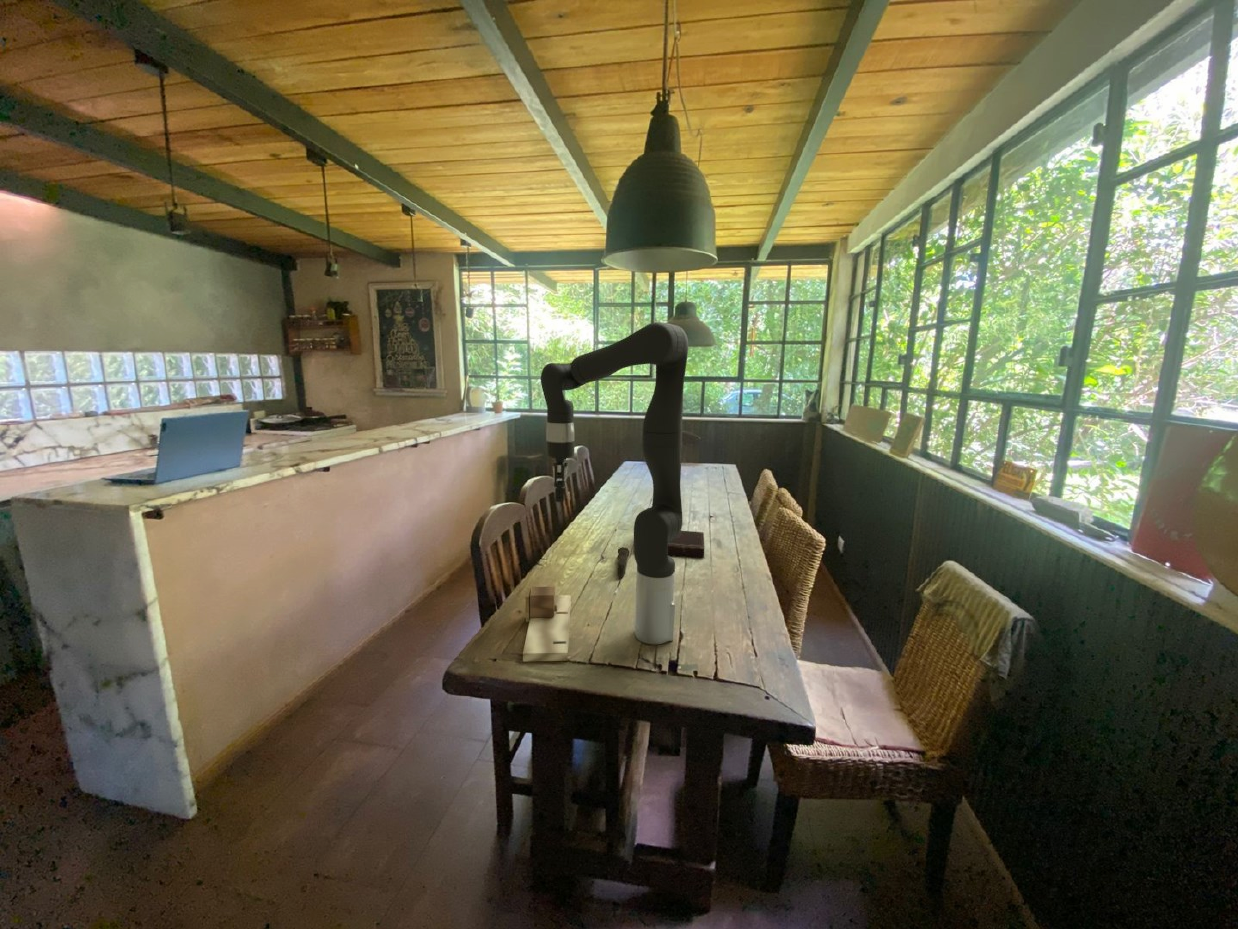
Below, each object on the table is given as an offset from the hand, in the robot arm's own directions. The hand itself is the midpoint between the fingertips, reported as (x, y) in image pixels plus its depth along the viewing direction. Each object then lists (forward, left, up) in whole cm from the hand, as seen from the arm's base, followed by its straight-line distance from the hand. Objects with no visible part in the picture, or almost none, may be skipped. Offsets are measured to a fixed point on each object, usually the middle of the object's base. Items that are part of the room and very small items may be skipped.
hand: (560, 497), depth 131 cm
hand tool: (-20, -22, -31) cm, 43 cm away
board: (+2, +16, -30) cm, 34 cm away
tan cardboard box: (+4, +12, -29) cm, 32 cm away
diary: (-39, -40, -31) cm, 64 cm away
